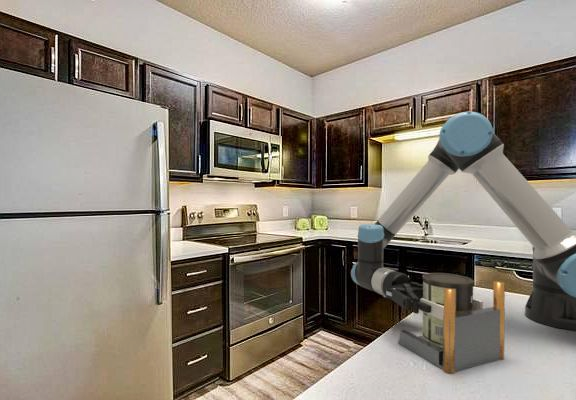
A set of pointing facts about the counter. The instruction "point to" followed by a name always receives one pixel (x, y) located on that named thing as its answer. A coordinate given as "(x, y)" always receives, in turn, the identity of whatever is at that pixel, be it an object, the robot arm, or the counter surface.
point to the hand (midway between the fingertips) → (464, 310)
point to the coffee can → (435, 293)
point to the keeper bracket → (464, 335)
